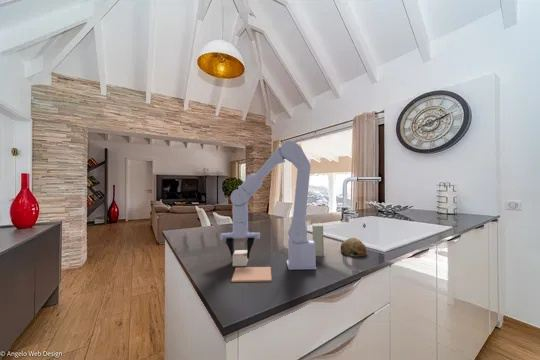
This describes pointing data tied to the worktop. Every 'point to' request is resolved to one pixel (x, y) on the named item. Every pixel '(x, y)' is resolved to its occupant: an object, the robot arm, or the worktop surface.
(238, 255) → the card box
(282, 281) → the worktop surface
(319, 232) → the skincare box
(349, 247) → the brown rounded lump
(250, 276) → the mat
